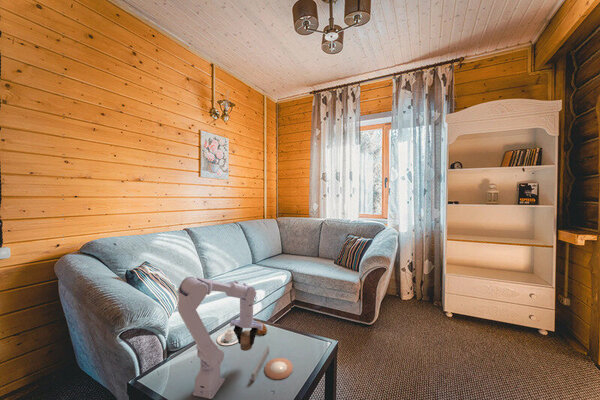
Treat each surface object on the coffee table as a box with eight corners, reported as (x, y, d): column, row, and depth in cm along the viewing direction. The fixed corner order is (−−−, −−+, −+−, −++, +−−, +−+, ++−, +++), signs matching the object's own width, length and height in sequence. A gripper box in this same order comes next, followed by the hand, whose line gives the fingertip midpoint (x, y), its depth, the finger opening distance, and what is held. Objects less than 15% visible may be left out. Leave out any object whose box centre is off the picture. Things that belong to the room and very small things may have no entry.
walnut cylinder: (249, 351, 105) (249, 337, 105) (238, 349, 106) (238, 336, 106) (253, 344, 110) (253, 331, 110) (243, 342, 111) (243, 329, 111)
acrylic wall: (254, 381, 98) (254, 374, 97) (251, 380, 98) (251, 373, 98) (269, 352, 115) (269, 346, 115) (266, 352, 115) (266, 346, 115)
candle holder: (230, 330, 134) (230, 322, 134) (246, 337, 127) (246, 329, 127) (211, 341, 124) (212, 332, 124) (227, 349, 118) (227, 340, 117)
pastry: (270, 332, 133) (270, 325, 133) (260, 337, 128) (260, 330, 128) (259, 325, 139) (259, 319, 139) (249, 330, 134) (249, 323, 134)
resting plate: (288, 381, 98) (288, 379, 98) (260, 376, 100) (260, 374, 100) (295, 361, 109) (295, 360, 109) (270, 357, 112) (270, 356, 112)
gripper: (265, 310, 110) (265, 340, 110) (235, 306, 113) (235, 336, 113) (259, 318, 103) (259, 350, 103) (227, 314, 106) (227, 345, 106)
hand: (246, 343), depth 108 cm, fingers closed on walnut cylinder, 5 cm apart
